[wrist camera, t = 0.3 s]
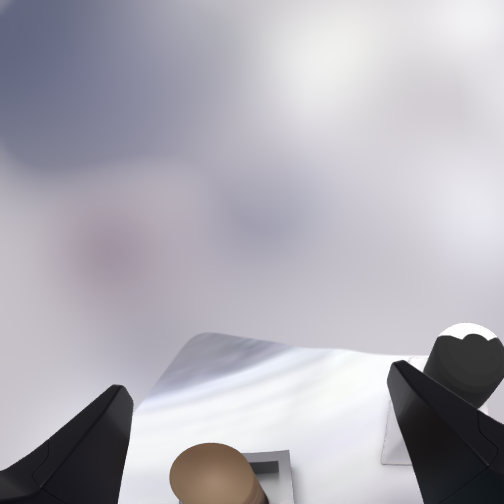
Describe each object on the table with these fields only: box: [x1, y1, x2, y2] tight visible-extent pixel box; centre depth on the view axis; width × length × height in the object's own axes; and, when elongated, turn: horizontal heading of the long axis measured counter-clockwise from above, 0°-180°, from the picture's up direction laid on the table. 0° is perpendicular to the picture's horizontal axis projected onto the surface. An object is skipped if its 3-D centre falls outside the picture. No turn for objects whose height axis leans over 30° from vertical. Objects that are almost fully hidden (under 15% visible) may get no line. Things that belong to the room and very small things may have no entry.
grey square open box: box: [179, 450, 294, 504], centre depth 13 cm, size 8×8×4 cm
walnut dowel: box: [169, 443, 269, 504], centre depth 12 cm, size 4×4×10 cm
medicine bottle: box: [381, 323, 504, 465], centre depth 14 cm, size 7×7×12 cm
